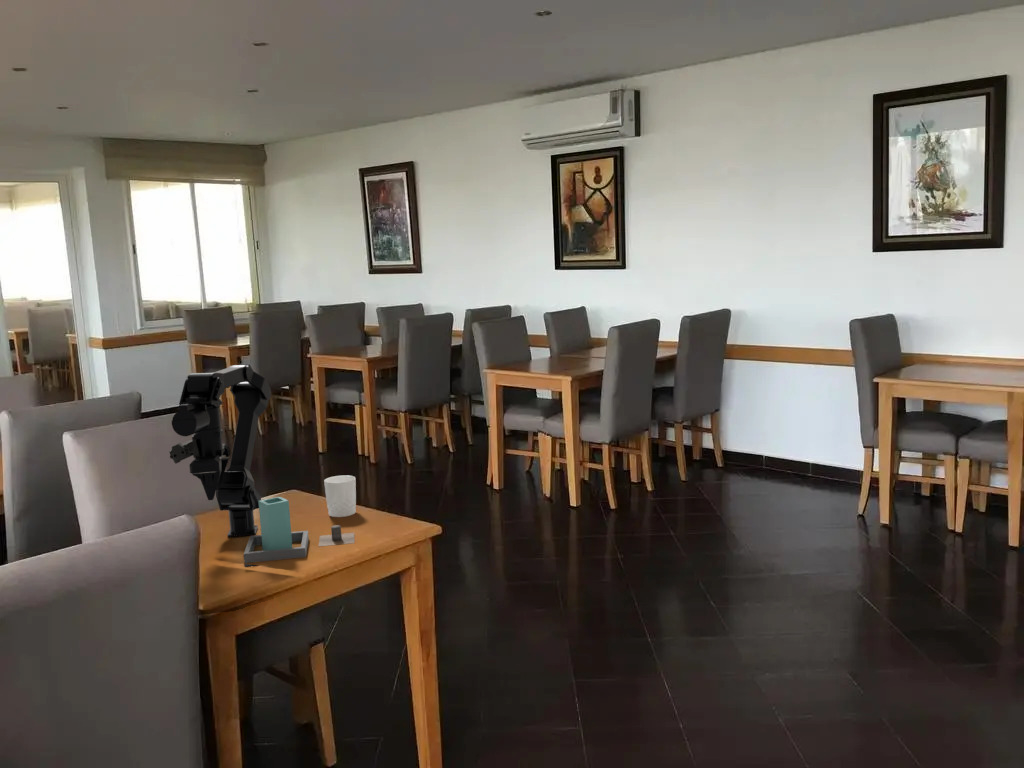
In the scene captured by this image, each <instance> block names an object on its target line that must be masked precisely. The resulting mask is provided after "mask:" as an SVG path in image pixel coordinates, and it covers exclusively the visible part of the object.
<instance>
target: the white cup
mask: <svg viewBox="0 0 1024 768" xmlns="http://www.w3.org/2000/svg"><path fill="white" fill-rule="evenodd" d="M323 482H324V493H325V499H326V505H327V507H326V508H327V509H328V511H327V512H328V516H330V517H331V518H332V517H333V518H342V517H344V518H345V517H349V516H353V515H354V514H355V513H357V511H356V510H357V508H356V505H357V490H356V487H357V485H356V484H357V482H356V476H353V475H348V474H347V475H341V474H340V475H335V476H330V477H327V478H325V479H324V480H323Z"/></svg>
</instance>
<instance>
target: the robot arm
mask: <svg viewBox="0 0 1024 768" xmlns="http://www.w3.org/2000/svg"><path fill="white" fill-rule="evenodd" d="M229 387H230V389H229V391H230V393H231V394H232V396H233V397H234V401H233V402H234V405H235V406H236V409H237V411H238V417H237V418H238V419H237V423H236V427H235V434H234V440H233V445H232V450H231V451H230V449H231V448H230V446H229V445H227V444H226V443H223V435H224V430H223V429H222V423H221V410H220V406H221V405H223V401H222V400H221V399H220V397H221V396H222V395H223V394H224V393H225V389H226V388H229ZM271 397H272V390H271V386H270V385H269V383H268V382H267V380H266V378H264V377H263V376H262V375H260V374H258V373H257V372H256V371H254V370H253V368H252V366H251V365H248V364H238V365H237V364H234V365H233V364H232V365H230V366H228V367H227V368H223V369H219V370H218V371H214V372H197V373H196V372H195V373H189V374H188V375H187V376H186V379H185V380H184V384H183V388H182V391H181V396H180V399H179V403H178V409H179V410H178V411H176V412H175V413H174V415H173V417H172V420H171V426H172V429H173V431H174V432H175V433H176V434H177V435H179V436H180V437H191V439H190V440H188V441H185V442H183V443H180V442H178V443H177V444H173V445H172V446H171V449H169V451H168V452H169V459H172V461H173V462H174V464H175V465H176V464H179V463H180V462H181V461H183V460H185V459H187V458H190V457H192V456H193V458H194V459H193V460H192V461H191V462H190V463H189V465H188V466H189V474H191V475H192V476H193V477H196V478H197V479H199V480H200V482H201V485H202V486H203V490H204V492H205V495H206V498H207V500H208V501H213V500H214V499H215V497H216V501H217V504H218V507H219V511H228V518H229V531H228V532H227V534H226V536H227V538H232V537H241V536H242V537H243V536H255V535H256V533H257V531H258V528H259V527H258V525H255V516H254V511H255V510H257V509H258V510H259V502H258V501H260V500H262V496H261V495H260V493H259V492H258V491H257V489H256V488H255V485H256V484H255V480H254V478H253V476H252V473H251V466H252V460H253V455H254V454H253V453H254V447H255V442H256V435H257V430H258V423H259V419H260V416H261V415H262V414H263V413H264V412H265V411H266V410H267V408H268V406H269V401H270V399H271ZM230 455H231V457H230ZM229 460H230V462H229ZM228 462H229V467H228V468H227V465H228ZM226 469H227V470H226Z"/></svg>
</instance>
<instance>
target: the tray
mask: <svg viewBox="0 0 1024 768" xmlns="http://www.w3.org/2000/svg"><path fill="white" fill-rule="evenodd" d="M291 536H292V543H294V542H301V544H300V546H297V547H292V548H285V549H275V550H265V551H263V550H257V551H254V550H255V547H256V546H262V537H261V534H254V535H249V539H248V541H247V543H246V547H245V549H244V552H243V562H244V568H251V566H253V567H260V565H258V564H257V565H256V564H250V563H257V562H270V561H278V560H288V559H299V558H306V557H307V553H308V552H307V551H308V545H309V541H310V540H309V539H310V536H309V530H299V531H291Z"/></svg>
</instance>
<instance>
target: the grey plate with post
mask: <svg viewBox="0 0 1024 768" xmlns="http://www.w3.org/2000/svg"><path fill="white" fill-rule="evenodd" d="M330 528H331V534H325V535H319V540H318V547H328V546H335V545H336V546H339V545H349V544H350V545H351V544H355V532H345V533H342V529H341V528H342V526H341V525H339V524H337V525H336V524H335V525H332V526H330Z"/></svg>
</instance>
